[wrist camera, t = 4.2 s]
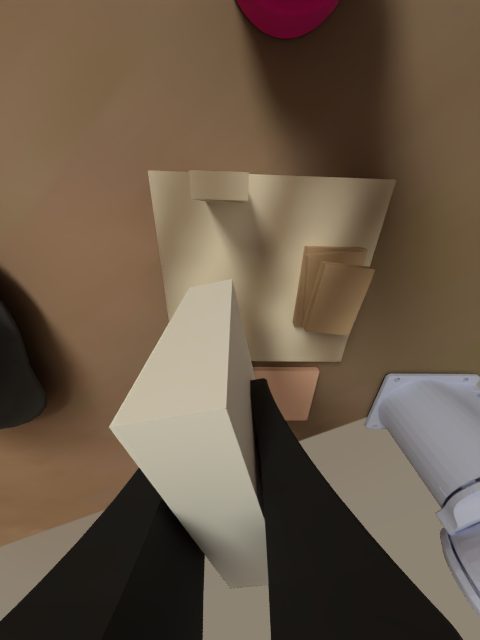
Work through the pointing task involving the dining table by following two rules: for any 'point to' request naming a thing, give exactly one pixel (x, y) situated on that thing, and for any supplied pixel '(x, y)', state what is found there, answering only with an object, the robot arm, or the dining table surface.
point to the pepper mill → (287, 15)
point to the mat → (290, 388)
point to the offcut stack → (331, 288)
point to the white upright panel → (203, 432)
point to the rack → (262, 244)
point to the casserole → (16, 377)
